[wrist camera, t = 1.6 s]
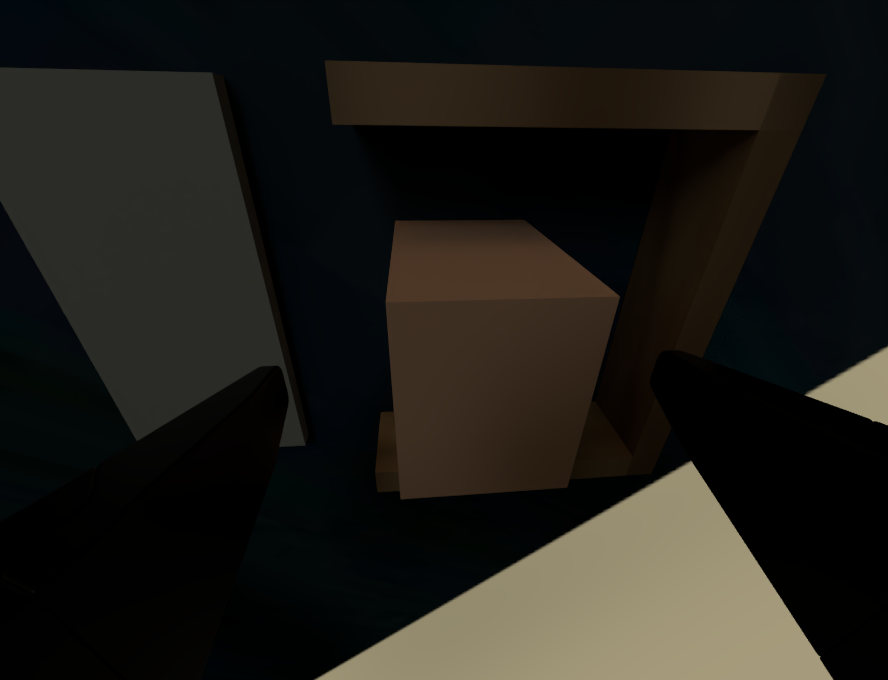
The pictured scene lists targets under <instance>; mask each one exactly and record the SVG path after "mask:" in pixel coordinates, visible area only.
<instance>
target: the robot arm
mask: <svg viewBox="0 0 888 680" xmlns="http://www.w3.org/2000/svg"><path fill="white" fill-rule="evenodd" d="M650 386H651V389H652V391H653V393H654V395H655V397H656V399H657V401H658V402H659V404H660V406H661V408H662V410H663V412H664V414H665V416H666V418H667V420H668V422H669V424H670V426H671V428H672V430H673V431H674V433H675V435H676V437H677V439H678V440H679V442H680V444H681V445H682V447H683V449H684V450H685V452H686V453H687V455H688V456H689V458H690V459H691V461H692V462H693V464H694V466H695V467H696V469H697V470H698V471H699V473H700V475H701V476H702V478H703V479H704V481H705V482H706V484H707V485H708V487H709V489H710V490H711V492H712V493H713V495H714V496H715V498H716V499H717V501H718V502H719V504H720V505H721V507H722V508H723V510H724V512H725V513H726V515H727V516H728V518H729V519H730V521H731V522H732V524H733V525H734V527H735V528H736V530H737V532H738V533H739V535H740V536H741V537H742V539H743V541H744V542H745V544H746V545H747V547H748V548H749V550H750V552H751V553H752V555H753V556H754V557H755V559H756V561H757V562H758V564H759V565H760V567H761V568H762V570H763V572H764V573H765V575H766V576H767V578H768V579H769V581H770V582H771V584H772V585H773V587H774V588H775V590H776V591H777V593H778V595H779V596H780V598H781V599H782V601H783V602H784V604H785V605H786V607H787V608H788V610H789V611H790V613H791V615H792V616H793V618H794V619H795V621H796V622H797V624H798V625H799V627H800V628H801V630H802V631H803V633H804V635H805V636H806V638H807V639H808V641H809V642H810V644H811V645H812V647H813V648H814V650H815V651H816V653H817V654H818V655H819V656H821V657H820V660H821V661H822V663H823V664H824V666H825V667H826V669H827V670H828V672H829V673H830V675H831V677H832V678H833V680H888V425H885V424H882V423H880V422H876V421H874V422H873V421H872V420H870V419H869V418H866V417H863V416H860V415H857V414H855V413H852V412H849V411H846V410H844V409H841V408H838V407H835V406H833V405H830V404H827V403H824V402H822V401H819V400H816V399H813V398H811V397H808V396H805V395H802V394H800V393H797V392H794V391H791V390H789V389H786V388H783V387H780V386H778V385H775V384H772V383H769V382H767V381H764V380H761V379H758V378H756V377H753V376H750V375H747V374H745V373H742V372H739V371H736V370H734V369H731V368H728V367H725V366H723V365H720V364H717V363H714V362H712V361H709V360H706V359H703V358H701V357H698V356H695V355H692V354H690V353H687V352H684V351H681V350H665V351H662V352H661V353H660V354H659V355H658V358H657V360H656V363H655V366H654V368H653V371H652V374H651V377H650ZM288 404H289V395H288V391H287V387H286V383H285V379H284V375H283V372H282V369H281V368H280V367H279V366H260V367H258V368H256V369H255V370H253V371H251V372H250V373H248V374H246V375H245V376H243V377H242V378H240V379H238V380H237V381H235V382H233V383H232V384H230V385H228V386H227V387H225V388H223V389H222V390H220V391H218V392H217V393H215V394H214V395H212V396H210V397H209V398H207V399H205V400H204V401H202V402H200V403H199V404H197V405H195V406H194V407H192V408H190V409H189V410H187V411H186V412H184V413H182V414H181V415H179V416H177V417H176V418H174V419H172V420H171V421H169V422H167V423H166V424H164V425H162V426H161V427H159V428H158V429H156V430H154V431H153V432H151V433H149V434H148V435H146V436H144V437H143V438H141V439H139V440H138V441H136V442H134V443H133V444H131V445H130V446H128V447H126V448H125V449H123V450H121V451H120V452H118V453H116V454H115V455H113V456H111V457H110V458H108V459H106V460H105V461H103V462H102V463H100V464H99V465H98V468H97V467H93V468H91V469H90V470H88V471H86V472H85V473H83V474H82V475H80V476H78V477H77V478H75V479H73V480H72V481H70V482H68V483H67V484H65V485H63V486H62V487H60V488H58V489H57V490H55V491H53V492H52V493H50V494H48V495H46V496H45V497H43V498H41V499H40V500H38V501H36V502H35V503H33V504H31V505H29V506H28V507H26V508H24V509H22V510H21V511H19V512H17V513H15V514H13V515H12V516H10V517H8V518H6V519H4V520H3V521H1V522H0V680H200V678H201V676H202V673H203V670H204V667H205V664H206V661H207V658H208V656H209V653H210V650H211V647H212V644H213V641H214V638H215V636H216V633H217V630H218V627H219V624H220V621H221V618H222V616H223V613H224V610H225V607H226V604H227V601H228V598H229V596H230V593H231V590H232V587H233V584H234V581H235V578H236V576H237V573H238V570H239V567H240V564H241V561H242V558H243V556H244V553H245V550H246V547H247V544H248V541H249V538H250V536H251V533H252V530H253V527H254V524H255V521H256V518H257V516H258V513H259V510H260V507H261V504H262V501H263V498H264V496H265V493H266V490H267V487H268V484H269V481H270V479H271V476H272V473H273V469H274V466H275V463H276V459H277V455H278V450H279V446H280V441H281V437H282V432H283V428H284V423H285V418H286V414H287V409H288Z"/></svg>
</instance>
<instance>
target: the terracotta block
mask: <svg viewBox="0 0 888 680" xmlns="http://www.w3.org/2000/svg"><path fill="white" fill-rule="evenodd" d="M619 298H620V296H619V295H618V294H616V293H615V292H614V291H613V290H611V289H610V288H609V287H608V286H606V285H605V284H604V283H603V282H601V281H600V280H599V279H598V278H596V277H595V276H594V275H593V274H591V273H590V272H589V271H588V270H586V269H585V268H584V267H583V266H581V265H580V264H579V263H578V262H576V261H575V260H574V259H573V258H571V257H570V256H569V255H568V254H566V253H565V252H564V251H563V250H561V249H560V248H559V247H558V246H556V245H555V244H554V243H553V242H551V241H550V240H549V239H548V238H546V237H545V236H544V235H543V234H541V233H540V232H539V231H538V230H536V229H535V228H534V227H533V226H531V225H530V224H529V223H528V222H526V221H525V220H434V221H395V228H394V237H393V245H392V254H391V262H390V271H389V279H388V288H387V297H386V312H387V325H388V338H389V352H390V365H391V378H392V392H393V405H394V418H395V432H396V445H397V458H398V471H399V485H400V498H401V499H412V498H426V497H441V496H455V495H469V494H484V493H498V492H512V491H527V490H541V489H555V488H567V487H568V483H569V479H570V476H571V472H572V469H573V465H574V461H575V458H576V454H577V450H578V447H579V443H580V440H581V436H582V432H583V429H584V425H585V421H586V418H587V414H588V411H589V407H590V403H591V400H592V396H593V392H594V389H595V385H596V382H597V378H598V374H599V371H600V367H601V363H602V360H603V356H604V353H605V349H606V345H607V342H608V338H609V334H610V331H611V327H612V324H613V320H614V316H615V313H616V309H617V305H618V302H619Z"/></svg>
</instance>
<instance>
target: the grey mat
mask: <svg viewBox="0 0 888 680" xmlns="http://www.w3.org/2000/svg"><path fill="white" fill-rule="evenodd" d="M0 201H1V203H2V205H3V206H4V208H5V210H6V212H7V213H8V215H9V217H10V219H11V220H12V222H13V224H14V226H15V227H16V229H17V231H18V233H19V234H20V236H21V238H22V240H23V242H24V243H25V245H26V247H27V249H28V250H29V252H30V254H31V256H32V257H33V259H34V261H35V263H36V264H37V266H38V268H39V270H40V271H41V273H42V275H43V277H44V278H45V280H46V282H47V284H48V285H49V287H50V289H51V291H52V292H53V294H54V296H55V298H56V299H57V301H58V303H59V305H60V307H61V308H62V310H63V312H64V314H65V315H66V317H67V319H68V321H69V322H70V324H71V326H72V328H73V329H74V331H75V333H76V335H77V336H78V338H79V340H80V342H81V343H82V345H83V347H84V349H85V350H86V352H87V354H88V356H89V357H90V359H91V361H92V363H93V364H94V366H95V368H96V370H97V372H98V373H99V375H100V377H101V379H102V380H103V382H104V384H105V386H106V387H107V389H108V391H109V393H110V394H111V396H112V398H113V400H114V401H115V403H116V405H117V407H118V408H119V410H120V412H121V414H122V415H123V417H124V419H125V421H126V422H127V424H128V426H129V428H130V429H131V431H132V433H133V435H134V437H135V438H136V440H137V441H138V440H139V439H141V438H143V437H144V436H146V435H148V434H149V433H151V432H153V431H154V430H156V429H158V428H159V427H161V426H162V425H164V424H166V423H167V422H169V421H171V420H172V419H174V418H176V417H177V416H179V415H181V414H182V413H184V412H186V411H187V410H189V409H190V408H192V407H194V406H195V405H197V404H199V403H200V402H202V401H204V400H205V399H207V398H209V397H210V396H212V395H214V394H215V393H217V392H218V391H220V390H222V389H223V388H225V387H227V386H228V385H230V384H232V383H233V382H235V381H237V380H238V379H240V378H242V377H243V376H245V375H246V374H248V373H250V372H251V371H253V370H255V369H256V368H258V367H260V366H279V367H280V368H281V369H282V372H283V375H284V379H285V383H286V387H287V391H288V395H289V404H288V409H287V414H286V418H285V423H284V428H283V432H282V437H281V441H280V446H279V447H285V446H303V445H306V442H307V439H308V435H309V433H308V429H307V425H306V420H305V416H304V412H303V408H302V404H301V400H300V395H299V391H298V387H297V383H296V379H295V374H294V370H293V366H292V362H291V358H290V353H289V349H288V345H287V341H286V337H285V332H284V328H283V324H282V320H281V316H280V312H279V307H278V303H277V299H276V295H275V291H274V286H273V282H272V278H271V274H270V270H269V265H268V261H267V257H266V253H265V249H264V245H263V240H262V236H261V232H260V228H259V224H258V219H257V215H256V211H255V207H254V203H253V198H252V194H251V190H250V186H249V182H248V177H247V173H246V169H245V165H244V161H243V157H242V152H241V148H240V144H239V140H238V136H237V131H236V127H235V123H234V119H233V115H232V110H231V106H230V102H229V98H228V94H227V90H226V85H225V81H224V77H223V76H222V75H218V74H214V73H198V72H157V71H115V70H74V69H32V68H0Z"/></svg>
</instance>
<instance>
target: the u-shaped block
mask: <svg viewBox="0 0 888 680" xmlns="http://www.w3.org/2000/svg"><path fill="white" fill-rule="evenodd" d="M325 67H326V75H327V83H328V92H329V100H330V108H331V116H332V124H333V125H401V126H475V127H550V128H624V129H672V132H671V135H670V139H669V142H668V146H667V150H666V153H665V157H664V160H663V164H662V167H661V171H660V174H659V178H658V181H657V185H656V188H655V192H654V195H653V199H652V203H651V206H650V210H649V213H648V217H647V220H646V224H645V227H644V231H643V234H642V238H641V241H640V245H639V248H638V252H637V256H636V259H635V263H634V266H633V270H632V273H631V277H630V280H629V284H628V287H627V291H626V294H625V298H624V301H623V305H622V309H621V312H620V316H619V319H618V323H617V326H616V330H615V333H614V337H613V340H612V344H611V347H610V351H609V354H608V358H607V362H606V365H605V369H604V372H603V376H602V379H601V383H600V386H599V390H598V393H597V397H596V400H595V401H594V402H591V403H590V407H589V411H588V414H587V418H586V421H585V425H584V429H583V432H582V436H581V440H580V443H579V447H578V450H577V454H576V458H575V461H574V465H573V469H572V472H571V476H570V479H583V478H597V477H612V476H627V475H642V474H651V473H652V471H653V469H654V467H655V464H656V462H657V460H658V457H659V455H660V453H661V451H662V448H663V446H664V444H665V441H666V439H667V437H668V435H669V432H670V430H671V426H670V424H669V422H668V420H667V418H666V416H665V414H664V412H663V410H662V408H661V406H660V404H659V402H658V401H657V399H656V397H655V395H654V393H653V391H652V389H651V386H650V377H651V374H652V371H653V368H654V366H655V363H656V360H657V358H658V355H659V354H660V353H661V352H662V351H665V350H681V351H684V352H687V353H690V354H692V355H695V356H698V357H701V358H702V357H703V355H704V353H705V350H706V348H707V346H708V343H709V341H710V339H711V337H712V334H713V332H714V330H715V327H716V325H717V323H718V321H719V318H720V316H721V314H722V312H723V309H724V307H725V305H726V302H727V300H728V298H729V296H730V293H731V291H732V289H733V286H734V284H735V282H736V280H737V277H738V275H739V273H740V270H741V268H742V266H743V264H744V261H745V259H746V257H747V255H748V252H749V250H750V248H751V245H752V243H753V241H754V239H755V236H756V234H757V232H758V229H759V227H760V225H761V223H762V220H763V218H764V216H765V213H766V211H767V209H768V207H769V204H770V202H771V200H772V198H773V195H774V193H775V191H776V188H777V186H778V184H779V182H780V179H781V177H782V175H783V172H784V170H785V168H786V166H787V163H788V161H789V159H790V157H791V154H792V152H793V150H794V147H795V145H796V143H797V141H798V138H799V136H800V134H801V131H802V129H803V127H804V125H805V122H806V120H807V118H808V115H809V113H810V111H811V109H812V106H813V104H814V102H815V100H816V97H817V95H818V93H819V90H820V88H821V86H822V84H823V81H824V79H825V77H826V74H798V73H761V72H725V71H688V70H652V69H615V68H579V67H542V66H505V65H469V64H432V63H396V62H359V61H325ZM375 475H376V483H377V491H378V492H390V491H400V485H399V471H398V458H397V445H396V432H395V418H394V412H381V415H380V426H379V437H378V448H377V459H376V470H375Z"/></svg>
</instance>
